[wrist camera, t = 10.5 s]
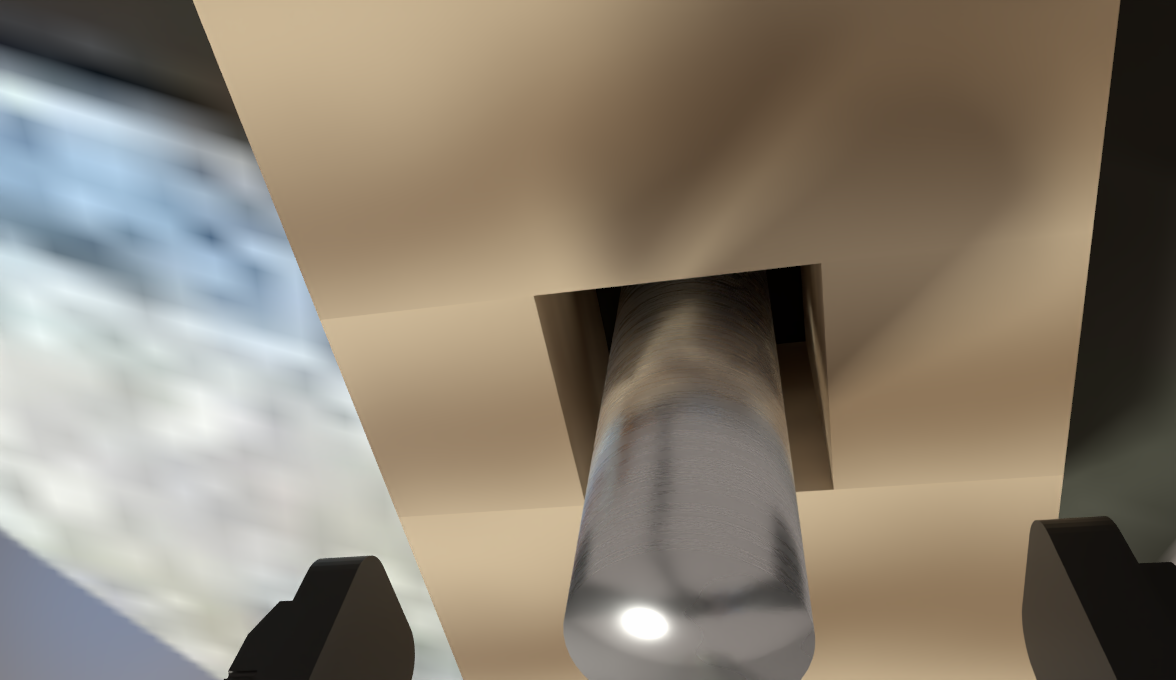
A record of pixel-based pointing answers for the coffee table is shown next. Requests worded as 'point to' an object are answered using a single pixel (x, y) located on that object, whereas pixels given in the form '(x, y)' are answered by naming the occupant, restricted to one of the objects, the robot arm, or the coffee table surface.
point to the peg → (691, 496)
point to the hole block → (698, 275)
